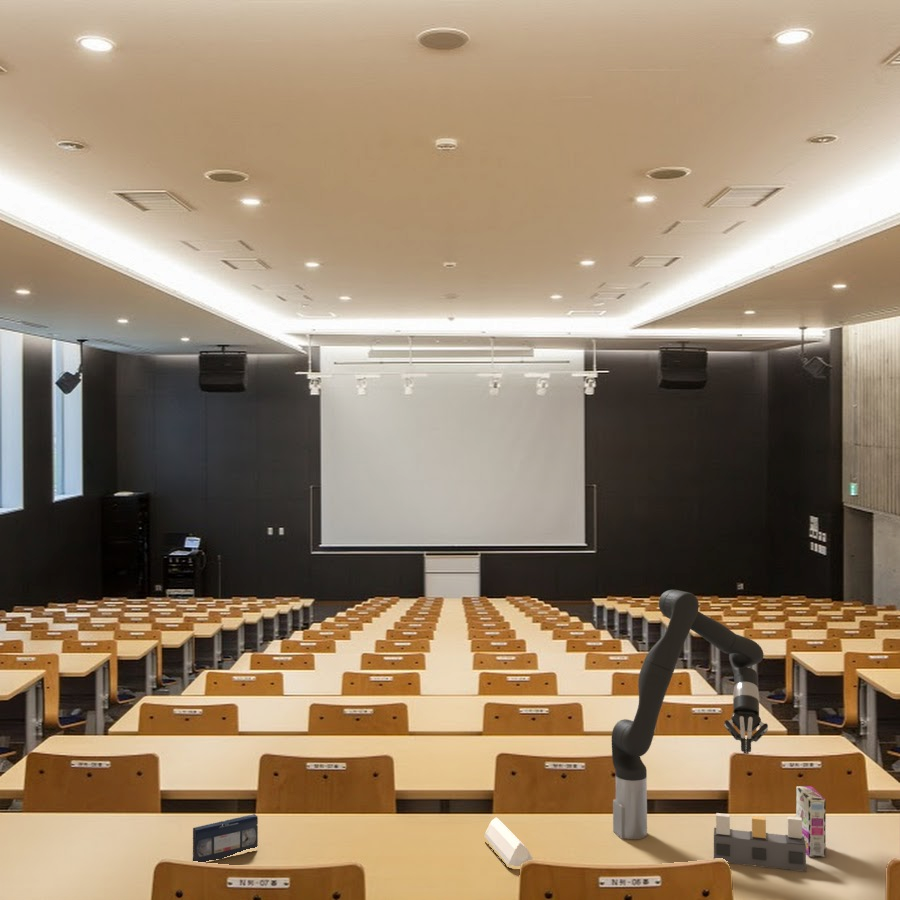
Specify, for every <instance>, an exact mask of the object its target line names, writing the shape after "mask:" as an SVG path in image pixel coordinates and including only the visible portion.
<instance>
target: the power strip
mask: <svg viewBox="0 0 900 900" xmlns="http://www.w3.org/2000/svg"><path fill="white" fill-rule="evenodd" d="M806 856H807V854H806V844H805V839H804V837H802V838H792V837H788V834H785V835H784V834H777V833H776V834H775V833H768V832H766V838H758V837H752V830H750V831H747V830H746V831H745V830H740V829H739V830H737V829H733V828H730V835H724V834H716V827H714V828H713V859H714V858H723V859H725V860H726V861H728V862H729V863H728V864H734V865H735V864H736V865H743V864H745V865H744V866H752V865H756V866H755V867H760V866H763V867H762V868H769V867H771V869H778V868H779V869H780V868H782V869H781V870H787V869H790V870H789V871H796V870H798V872H807V857H806Z"/></svg>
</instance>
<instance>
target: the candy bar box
mask: <svg viewBox="0 0 900 900" xmlns="http://www.w3.org/2000/svg"><path fill="white" fill-rule="evenodd" d="M795 788H796V789H795V790H796V795H795V796H796V797H795V798H796V799H795V803H796V804H795V805H796V807H795V811H796V813H795V817H801V818H802V837H804V839H805V844H806V856H808V858H826V850H827V849H826V848H827V847H826V845H827V844H826V839H827V838H826V824H827V821H826V819H827V817H826V815H827V814H826V812H827V811H826V801H827V800H826V798H825V797H824V796H823V795H821V793H820V792H818V790H816V789H815V788H814V787H813V786H809V785H808V786H807V785H806V786H805V785H804V786H799V785H798V786H796V787H795Z"/></svg>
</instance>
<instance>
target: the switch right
mask: <svg viewBox="0 0 900 900" xmlns="http://www.w3.org/2000/svg"><path fill="white" fill-rule="evenodd" d="M787 835H788V837H792V838H802V818H801V817H796V816H787Z"/></svg>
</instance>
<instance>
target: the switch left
mask: <svg viewBox="0 0 900 900" xmlns="http://www.w3.org/2000/svg"><path fill="white" fill-rule="evenodd" d="M730 816H731V814H728V813H719V812H716V813H715V818H716V819H715V823H716V824H715V826H716V827H715V828H716V834H724V835H730V829H731V823H730V822H731V820H730V819H731V817H730Z"/></svg>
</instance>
